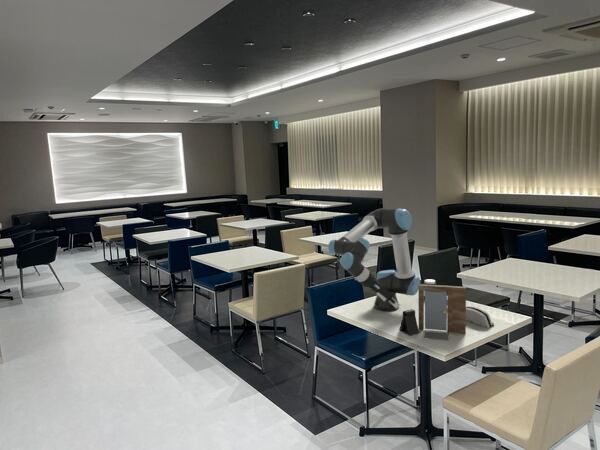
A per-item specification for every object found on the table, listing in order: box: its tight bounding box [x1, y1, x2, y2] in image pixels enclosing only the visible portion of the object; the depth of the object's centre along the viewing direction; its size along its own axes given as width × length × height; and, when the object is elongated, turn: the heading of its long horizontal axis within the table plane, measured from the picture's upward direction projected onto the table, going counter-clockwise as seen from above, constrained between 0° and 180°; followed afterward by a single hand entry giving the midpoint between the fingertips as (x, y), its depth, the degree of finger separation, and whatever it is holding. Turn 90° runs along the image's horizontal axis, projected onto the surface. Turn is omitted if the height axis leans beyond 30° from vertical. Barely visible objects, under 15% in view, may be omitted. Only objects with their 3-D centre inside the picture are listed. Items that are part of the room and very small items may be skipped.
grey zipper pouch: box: [466, 305, 495, 328], centre depth 246 cm, size 17×5×10 cm, turn 27°
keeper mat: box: [423, 330, 450, 341], centre depth 229 cm, size 9×12×1 cm
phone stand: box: [398, 308, 420, 337], centre depth 235 cm, size 9×6×12 cm, turn 25°
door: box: [424, 290, 447, 332], centre depth 234 cm, size 11×3×21 cm, turn 70°
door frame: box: [418, 283, 467, 335], centre depth 234 cm, size 2×24×24 cm, turn 70°
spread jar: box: [423, 278, 437, 299], centre depth 292 cm, size 12×11×12 cm
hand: (391, 302), depth 231 cm, fingers open, 13 cm apart
